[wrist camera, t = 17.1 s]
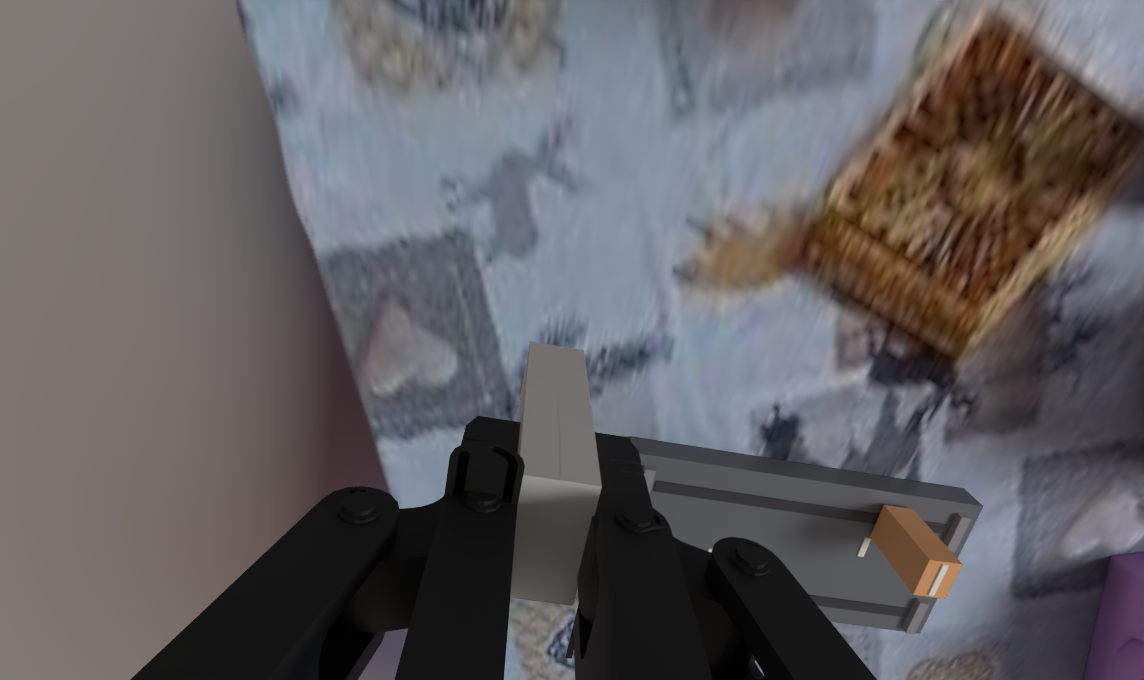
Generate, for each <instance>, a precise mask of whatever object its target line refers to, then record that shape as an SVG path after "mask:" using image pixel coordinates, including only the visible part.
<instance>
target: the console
mask: <svg viewBox="0 0 1144 680" xmlns="http://www.w3.org/2000/svg"><path fill="white" fill-rule="evenodd" d="M629 440H630V441H631V443H632V444H633V445H634V446H635V447H636V448H637V449H638V451H639V455H640V459H641V465H642V467H643V471H644V476H645V479H646V483H647V487H648V491H649V495H650V499H651V503H652V507H653V508H654V509H656V510H657V511H658V512H659V513H660V514H662V515H663V516H664V517H665V518H666V520H667V522H668V523H669V525H670V528H671V531H672V535H673V537H675V538H677V539H678V540H680V541H682V542H685V543H687V544H689V545H692V546H694V547H697V548H700V549H703V550H705V551H708V552H712V549H713V546H714V544H715V543H716V542H717V541H719V540H720V539H723V538H728V537H737V538H745V539H748V540H750V541H754V542H756V543H759V544H760V545H762V546H764V547H765V548H767V549H769V550H770V551H772V552H773V553H774V554H775V555H776V556H777V557H778V558H779V559H780V560H781V561H782V562H783V564H784V565H785V566H786V567H787V569H788V570H789V571H790V572H791V574H792V575H793V576H794V577H795V578H796V580H797V581H798V582H799V583H800V585H801V586H802V587H803V588H804V590H805V591H806V592H807V593H808V595H809V596H810V597H811V598H812V600H813V601H814V602H815V603H816V605H817V606H818V607H819V608H820V610H821V611H822V612H823V613H824V615H825V616H826V617H827V618H828V620H829V621H830V622H837V623H844V624H852V625H859V626H867V627H875V628H882V629H890V630H898V631H905V632H906V633H911V634H915V633H920V632H921V630H922V628H923V626H924V624H925V622H926V620H927V618H928V616H929V614H930V612H931V610H932V608H933V606H934V604H935V602H936V600H937V598H934V597H927V596H920V595H913V594H912V592H911V591H910V590H909V588H908V587H907V586H906V584H905V583H904V582H903V580H902V579H901V578H900V576H899V575H898V573H897V572H896V571H895V569H894V568H893V567H892V565H891V564H890V563H889V561H888V560H887V559H886V557H885V556H884V555H883V553H882V552H881V551H880V549H879V548H878V547H877V545H876V544H875V542H874V541H873V540H872V538H871V537H870V536H871V533H872V531H873V529H874V526H875V524H876V522H877V519H878V517H879V515H880V513H881V510H882V508H883V506H884V505H889V506H896V507H902V508H909V509H913V510H914V511H915V512H916V513H917V514H918V515H919V516H920V518H921V519H922V520H923V521H924V522H925V523H926V524H927V525H928V526H929V528H930V529H931V530H932V531H933V532H934V533H935V534H936V535H937V536H938V538H939V539H940V540H941V541H942V542H943V543H944V544H945V545H946V547H947V548H948V549H949V550H950V551H951V552H952V553H953V554H954V555H955V557H956V558H958V556H959V554H960V552H961V550H962V548H963V546H964V544H965V542H966V540H967V538H968V536H969V534H970V532H971V530H972V528H973V526H974V524H975V522H976V520H977V518H978V516H979V514H980V512H981V510H982V508H983V506H982V505H981V504H980V503H979V502H978V501H977V500H976V499H975V498H974V497H973V496H971V495H970V494H969V493H968V492H967V491H966V490H965V489H963V488H956V487H950V486H944V485H937V484H931V483H924V482H918V481H912V480H905V479H899V478H892V477H886V476H880V475H873V474H867V473H860V472H854V471H848V470H841V469H835V468H828V467H822V466H816V465H809V464H803V463H796V462H790V461H784V460H777V459H771V458H764V457H758V456H752V455H745V454H739V453H732V452H726V451H720V450H713V449H707V448H700V447H694V446H688V445H681V444H675V443H668V442H662V441H656V440H649V439H643V438H636V437H630V439H629Z"/></svg>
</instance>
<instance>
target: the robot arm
mask: <svg viewBox="0 0 1144 680" xmlns="http://www.w3.org/2000/svg"><path fill="white" fill-rule="evenodd" d="M577 586H578V598H579V605H578V609H577V613H576V617H575V621H574V625H573V629H572V633H571V637H570V641H569V645H568V649H567V654H566V658H572V655H573V651H574V657H575V680H877V679H876V678H875V677H874V676H873V674H872V673H871V672H870V671H869V669H868V668H867V667H866V666H865V664H864V663H863V662H862V661H861V659H860V658H859V657H858V656H857V654H856V653H855V652H854V651H853V649H852V648H851V647H850V646H849V644H848V643H847V642H846V641H845V639H844V638H843V637H842V636H841V634H840V633H839V632H838V631H837V629H836V628H835V627H834V626H833V625H832V623H831V622H830V621H829V620H828V618H827V617H826V616H825V615H824V613H823V612H822V611H821V610H820V608H819V607H818V606H817V605H816V603H815V602H814V601H813V600H812V598H811V597H810V596H809V595H808V593H807V592H806V591H805V590H804V588H803V587H802V586H801V585H800V583H799V582H798V581H797V580H796V578H795V577H794V576H793V575H792V574H791V572H790V571H789V570H788V569H787V567H786V566H785V565H784V564H783V562H782V561H781V560H780V559H779V558H778V557H777V556H776V555H775V554H774V553H773V552H772V551H770V550H769V549H767V548H765V547H764V546H762V545H760V544H759V543H756V542H754V541H750V540H748V539H745V538H737V537H728V538H723V539H720V540H719V541H717V542H716V543H715V544H714V546H713V549H712V552H708V551H705V550H703V549H700V548H697V547H694V546H692V545H689V544H687V543H685V542H682V541H680V540H678V539H677V538H675V537H673V535H672V531H671V528H670V525H669V523H668V522H667V520H666V518H665V517H664V516H663V515H662V514H660V513H659V512H658V511H657V510H656V509H654V508H653V507H652V503H651V499H650V495H649V491H648V487H647V483H646V479H645V476H644V471H643V467H642V465H641V459H640V455H639V451H638V449H637V448H636V447H635V446H634V445H633V444H632V443H631V441H630V440H629V439H628V438H627V437H621V436H615V435H609V434H602V433H596V432H595V431H594V424H593V416H592V409H591V401H590V394H589V386H588V379H587V371H586V363H585V356H584V351H583V350H577V349H571V348H565V347H559V346H553V345H547V344H541V343H535V342H530V346H529V352H528V357H527V363H526V368H525V374H524V380H523V385H522V391H521V396H520V402H519V407H518V413H517V418H516V422H514V421H508V420H501V419H495V418H489V417H482V416H477V417H476V418H475V419H474V420H472V421H471V422H470V423H469V424H467V425H466V428H465V432H464V436H463V440H462V443H461V446H459V447H457V448H455V449H454V451H453V452H452V453H451V455H450V460H449V467H448V474H447V481H446V488H445V495H444V496H443V497H442V498H441V499H440V500H438V501H436V502H434V503H432V504H429V505H426V506H422V507H416V508H407V509H399V506H398V502H397V501H396V500H395V499H394V498H393V497H392V496H391V495H390V494H388V493H386V492H384V491H382V490H379V489H375V488H370V487H363V486H362V487H348V488H344V489H341V490H338V491H334V492H332V493H331V494H329V495H328V496H326V497H325V498H323V499H322V500H321V501H320V502H319V503H318V504H316V505H315V506H314V507H313V508H312V509H311V510H310V511H309V512H308V513H307V514H306V515H305V516H304V517H303V518H302V519H301V520H299V521H298V523H296V524H295V525H294V526H293V527H292V528H291V529H290V530H289V531H288V532H287V533H286V534H285V535H284V536H282V538H280V539H279V540H278V541H277V542H276V543H275V544H274V545H273V546H272V547H271V548H270V549H269V550H268V551H267V552H265V553H264V554H263V555H262V557H260V558H259V559H258V560H257V561H256V562H255V563H254V564H253V565H252V566H251V567H250V568H249V569H247V570H246V571H245V572H244V573H243V574H242V575H241V576H240V577H239V578H238V579H237V580H236V581H235V582H234V583H233V584H232V585H230V586H229V587H228V588H227V589H226V590H225V591H224V592H223V593H222V594H221V595H220V596H219V597H218V598H217V599H216V600H215V601H214V602H212V603H211V604H210V605H209V606H208V607H207V608H206V609H205V610H204V611H203V612H202V613H201V614H200V615H199V616H198V617H196V618H195V619H194V620H193V621H192V622H191V623H190V624H189V625H188V626H187V627H186V628H185V629H184V630H183V631H182V632H181V633H180V634H178V635H177V636H176V637H175V638H174V639H173V640H172V641H171V642H170V643H169V644H168V645H167V646H166V647H165V648H164V649H162V650H161V651H160V652H159V653H158V654H157V655H156V656H155V657H154V658H153V659H152V660H151V661H150V662H149V663H148V664H147V665H146V666H144V667H143V668H142V669H141V670H140V671H139V672H138V673H137V674H136V675H135V676H134V677H133V678H132V679H131V680H358V678H359V677H360V675H361V674H362V672H363V670H364V669H365V667H366V666H367V664H368V663H369V661H370V660H371V658H372V656H373V655H374V653H375V652H376V650H377V649H378V647H379V646H380V644H381V642H382V640H383V638H384V635H385V632H386V631H392V630H398V629H406V628H408V632H407V636H406V639H405V643H404V647H403V651H402V654H401V658H400V662H399V665H398V669H397V673H396V677H395V680H504V668H505V655H506V643H507V630H508V618H509V605H510V598H518V599H526V600H533V601H541V602H549V603H557V604H565V605H573V603H574V599H575V595H576V590H577ZM755 660H756V661H757V663H758V664H759V666H760V667H761V669H762V671H763V673H764V675H765V676H764V675H763V674H762V673H761V672H760V670H759V669H758V667H757V665H756V664H755Z"/></svg>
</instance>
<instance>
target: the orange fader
mask: <svg viewBox="0 0 1144 680" xmlns="http://www.w3.org/2000/svg"><path fill="white" fill-rule="evenodd" d="M870 537H871V538H872V540H873V541H874V542H875V544H876V545H877V547H878V548H879V549H880V551H881V552H882V553H883V555H884V556H885V557H886V559H887V560H888V561H889V563H890V564H891V565H892V567H893V568H894V569H895V571H896V572H897V573H898V575H899V576H900V578H901V579H902V580H903V582H904V583H905V584H906V586H907V587H908V588H909V590H910V591H911V592H912V594H913V595H920V596H927V597H934V598H941V599H946V597H947V595H948V593H949V591H950V589H951V587H952V585H953V583H954V581H955V579H956V577H957V575H958V573H959V571H960V569H961V567H962V565H963V564H962V563H961V562H960V561H959V560H958V559H957V558H956V557H955V555H954V554H953V553H952V552H951V551H950V550H949V549H948V548H947V547H946V545H945V544H944V543H943V542H942V541H941V540H940V539H939V538H938V536H937V535H936V534H935V533H934V532H933V531H932V530H931V529H930V528H929V526H928V525H927V524H926V523H925V522H924V521H923V520H922V519H921V518H920V516H919V515H918V514H917V513H916V512H915V511H914V510H913V509H909V508H902V507H896V506H889V505H884V506H883V508H882V510H881V513H880V515H879V517H878V519H877V522H876V524H875V526H874V529H873V531H872V533H871V536H870Z"/></svg>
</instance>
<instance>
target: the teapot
mask: <svg viewBox="0 0 1144 680" xmlns="http://www.w3.org/2000/svg"><path fill="white" fill-rule="evenodd" d="M1083 680H1144V552H1137V553H1128V554H1120V555H1112V556H1110V561H1109V565H1108V569H1107V574H1106V578H1105V583H1104V587H1103V591H1102V596H1101V600H1100V605H1099V609H1098V614H1097V618H1096V622H1095V627H1094V631H1093V636H1092V640H1091V644H1090V649H1089V653H1088V658H1087V662H1086V666H1085V671H1084V675H1083Z"/></svg>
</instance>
